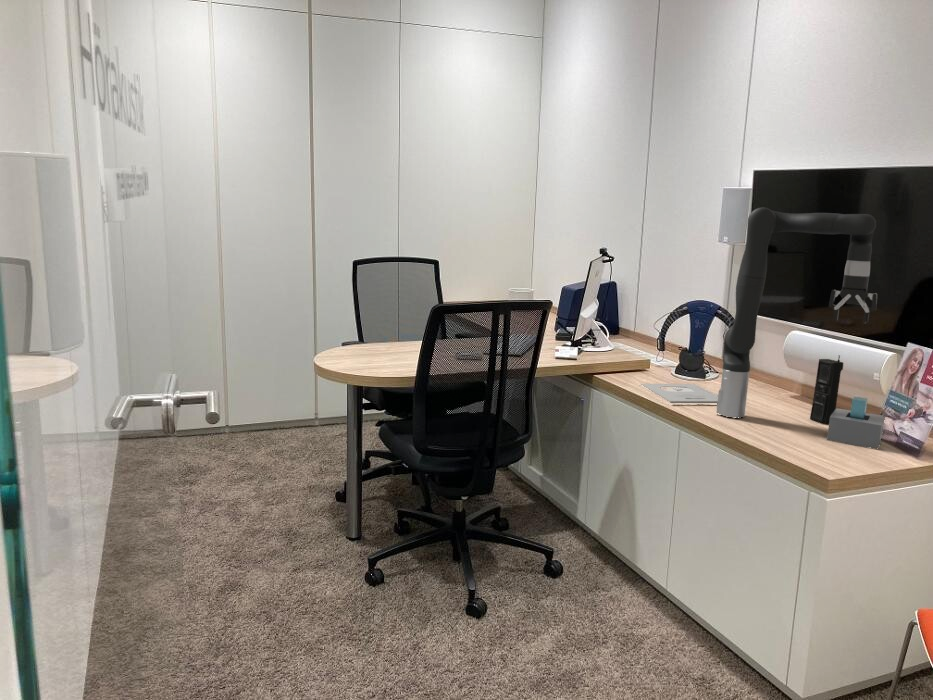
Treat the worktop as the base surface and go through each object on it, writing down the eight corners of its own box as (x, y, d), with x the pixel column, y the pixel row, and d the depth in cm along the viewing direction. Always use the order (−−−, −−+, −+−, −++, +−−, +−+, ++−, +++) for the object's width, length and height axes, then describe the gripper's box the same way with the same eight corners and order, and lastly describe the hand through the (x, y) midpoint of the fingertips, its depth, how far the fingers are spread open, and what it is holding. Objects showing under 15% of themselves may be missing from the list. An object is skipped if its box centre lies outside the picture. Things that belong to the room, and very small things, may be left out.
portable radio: (806, 418, 270) (814, 352, 266) (818, 417, 272) (827, 351, 268) (823, 424, 263) (832, 356, 258) (835, 423, 265) (845, 355, 261)
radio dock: (826, 440, 243) (829, 416, 242) (833, 430, 255) (836, 408, 254) (878, 449, 235) (881, 425, 234) (882, 439, 247) (885, 416, 246)
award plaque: (670, 406, 281) (670, 401, 281) (639, 388, 310) (639, 383, 310) (729, 406, 285) (730, 401, 285) (693, 388, 314) (694, 383, 314)
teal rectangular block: (847, 437, 244) (852, 399, 242) (849, 433, 248) (854, 396, 246) (860, 439, 242) (866, 401, 240) (862, 436, 246) (867, 398, 244)
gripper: (831, 273, 247) (825, 320, 250) (879, 276, 239) (872, 325, 242) (834, 272, 253) (828, 318, 256) (881, 275, 246) (874, 323, 249)
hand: (850, 322), depth 249 cm, fingers open, 8 cm apart
